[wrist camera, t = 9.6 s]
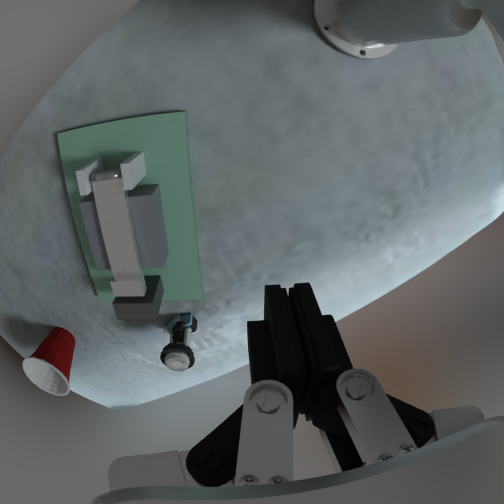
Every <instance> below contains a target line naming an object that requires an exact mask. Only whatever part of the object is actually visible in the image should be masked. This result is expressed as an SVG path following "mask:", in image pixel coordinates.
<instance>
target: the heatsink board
mask: <svg viewBox="0 0 504 504" xmlns="http://www.w3.org/2000/svg"><path fill="white" fill-rule="evenodd" d="M57 135H58V143H59V149H60V155H61V161H62V167H63V172H64V178H65V183H66V187H67V192H68V197H69V201H70V205H71V209H72V213H73V217H74V221H75V225H76V229H77V232H78V236H79V239H80V243H81V246H82V249H83V253H84V256H85V259H86V262H87V265H88V268H89V271H90V274H91V277H92V280H93V283H94V286H95V288H96V291H97V294H98V297H99V299H100V301H113V303H112V304H113V307H114V310H115V312H116V315H117V317H118V320H157V318H158V314H159V309H160V305H161V301H179V300H203V297H204V292H203V284H202V276H201V269H200V260H199V252H198V243H197V234H196V225H195V215H194V205H193V194H192V183H191V171H190V158H189V144H188V128H187V111H179V112H170V113H161V114H153V115H146V116H139V117H132V118H126V119H120V120H115V121H109V122H104V123H99V124H94V125H90V126H85V127H81V128H76V129H72V130H68V131H64V132H61V133H58V134H57ZM118 169H121V173H122V179H123V186H124V190H127V193H128V199H129V206H130V211H131V217H132V223H133V228H134V233H135V238H136V243H137V248H138V253H139V258H140V262H141V267H142V271H143V275H144V279H145V284H146V288H147V289H146V293H145V296H118V297H114V294H113V290H112V287H111V284H110V280H111V279H112V277H113V273H112V270H111V266H110V262H109V259H108V255H107V251H106V247H105V243H104V239H103V235H102V230H101V226H100V222H99V217H98V212H97V207H96V202H95V197H94V192H93V186H92V183H91V182H90V179H89V177H90V174H91V173H97V172H104V171H111V170H118Z"/></svg>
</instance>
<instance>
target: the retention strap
mask: <svg viewBox="0 0 504 504" xmlns="http://www.w3.org/2000/svg"><path fill="white" fill-rule="evenodd" d="M89 179H90V182H91V183H92V186H93V192H94V197H95V202H96V207H97V212H98V217H99V222H100V226H101V230H102V235H103V239H104V243H105V247H106V251H107V255H108V259H109V262H110V266H111V270H112V273H113V277H112V279H111V280H110V284H111V287H112V290H113V294H114V297H118V296H145V293H146V289H147V288H146V284H145V279H144V275H143V271H142V267H141V262H140V258H139V253H138V248H137V243H136V238H135V233H134V228H133V223H132V217H131V211H130V206H129V199H128V193H127V190H124V186H123V179H122V173H121V169H118V170H111V171H104V172H97V173H91V174H90V177H89Z"/></svg>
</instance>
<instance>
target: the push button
mask: <svg viewBox="0 0 504 504" xmlns="http://www.w3.org/2000/svg"><path fill="white" fill-rule="evenodd" d="M176 317H178V318H176ZM166 328H168V329H166ZM163 329H164V330H165V331H166V332H167V333H170V343H169V344H168V345H167V346H165V347H164V348H163V351H162V352H161V355H160V359H161V361H162V362H163V364H165V365H166V366H167V368H169V369H171V370H173V371H178V372H179V371H184V370H186V369H188V368H190V367H192V366H193V365H194V362H195V358H194V353H193V352H192V350H191V348H190V347H189V345H190V335H191V333H192V332H195V331H196V330H197V320H196V319H195V318H194V316H193V315H192V314H191V313H188V314H186V315H183V316H181V317H180V314H179V315H176V316H175V319H173V320H171V321H169V325H167V326H166V327H164V328H163ZM165 331H163V333H164V334H167V333H165ZM166 353H167V354H166ZM189 357H190V358H189Z"/></svg>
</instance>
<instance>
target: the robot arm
mask: <svg viewBox="0 0 504 504" xmlns="http://www.w3.org/2000/svg"><path fill="white" fill-rule="evenodd" d="M483 13H484V15H485V16H486V17H487V18H488V19H489V20H490V22H491V24H492V25H493V26H494V28H495V29H496V31H497V32H498V34H499V35H500V36H501V38H502V40H503V41H504V0H314V3H313V14H314V18H315V22H316V24H317V26H318V28H319V30H320V31H321V33H322V34H323V36H324V37H325V38H326V39H327V40H328V41H329V43H330V44H332V45H333V46H334V47H335V48H337V49H338V50H340V51H342V52H343V53H345V54H347V55H350V56H352V57H356V58H360V59H377V58H381V57H384V56H386V55H388V54H390V53H391V52H392V51H393V50H395V49H396V47H397V46H398V44H399V43H404V42H410V41H418V40H426V39H435V38H447V37H456V36H461V35H464V34H466V33H468V32H470V31H471V30H472V29H473V28H475V26H476V25H477V24H478V22H479V21H480V19H481V16H482V14H483ZM324 27H326V28H327V30H325V29H324ZM360 52H361V53H362V54H360ZM247 335H248V352H249V363H250V373H251V384H252V386H250V387H249V389H248V390H247V391H246V394H245V397H244V404H242V405H241V406H240V407H239V408H238V409H237V410H236V411H235V412H234V413H233V414H231V415H230V416H229V417H228V418H227V419H226V420H225V421H224V422H222V424H220V425H219V426H218V427H217V428H216V429H214V430H213V431H212V432H211V433H210V434H209V435H207V436H206V437H205V438H204V439H203V440H201V441H200V442H199V443H198V444H197V445H195V446H194V447H193V448H192V449H191V450H187V451H181V452H178V451H177V450H175V451H170V452H162V453H154V454H146V455H136V456H126V457H121V458H117V459H116V460H114V461H113V462H112V463H111V465H110V466H109V471H108V476H109V483H110V490H111V491H110V492H107V493H105V494H102V495H100V496H98V497H96V498H94V499H93V500H92V501H91V502H90V504H504V416H496V417H492V418H488V419H486V420H485V419H484V415H483V413H482V411H481V410H480V409H479V408H478V407H476V406H473V405H472V406H471V405H469V406H463V407H456V408H449V409H442V410H434V411H432V412H431V413H426V412H425V411H423V410H420V409H418V408H416V407H414V406H412V405H409V404H407V403H405V402H403V401H401V400H399V399H396V398H394V397H392V396H390V395H388V394H386V393H385V392H384V390H383V388H382V387H381V385H380V384H379V382H378V380H377V379H376V378H375V376H374V375H373V374H371V373H370V372H368V371H365V370H363V369H353V367H352V364H351V361H350V359H349V356H348V354H347V351H346V348H345V346H344V343H343V341H342V338H341V336H340V333H339V331H338V328H337V326H336V323H335V321H334V318H333V317H332V315H322V314H321V311H320V308H319V306H318V303H317V301H316V298H315V295H314V293H313V290H312V287H311V285H310V283H295V284H294V287H292V288H289V294H287V291H286V288H281V287H280V285H265V297H264V320H260V321H247ZM299 412H300V414H305V417H306V421H310V420H312V423H313V425H314V426H316V427H318V428H319V430H320V434H321V437H322V439H323V441H324V444H325V446H326V448H327V451H328V453H329V455H330V458H331V460H332V463H333V465H334V467H335V470H336V472H337V473H335V474H331V475H326V476H321V477H315V478H309V479H304V480H297V481H293V429H294V428H295V426H296V422H297V419H298V415H299Z"/></svg>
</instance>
